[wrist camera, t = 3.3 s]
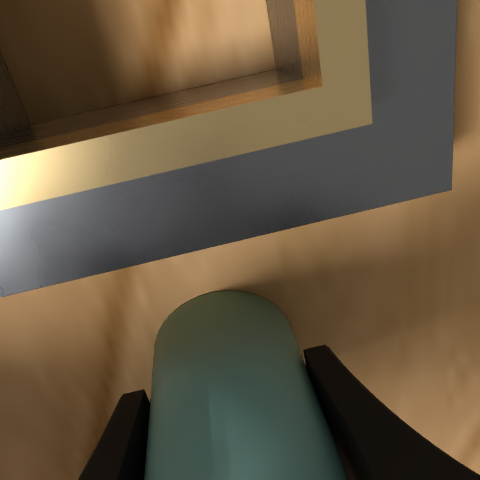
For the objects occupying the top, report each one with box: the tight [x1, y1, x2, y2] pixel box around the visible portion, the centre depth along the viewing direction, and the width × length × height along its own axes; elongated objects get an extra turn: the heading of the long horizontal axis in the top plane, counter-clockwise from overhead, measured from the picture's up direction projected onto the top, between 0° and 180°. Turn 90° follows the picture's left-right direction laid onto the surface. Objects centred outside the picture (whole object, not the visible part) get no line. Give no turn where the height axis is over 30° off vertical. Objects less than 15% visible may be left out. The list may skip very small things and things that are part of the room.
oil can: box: [144, 291, 349, 480], centre depth 10 cm, size 4×4×8 cm
